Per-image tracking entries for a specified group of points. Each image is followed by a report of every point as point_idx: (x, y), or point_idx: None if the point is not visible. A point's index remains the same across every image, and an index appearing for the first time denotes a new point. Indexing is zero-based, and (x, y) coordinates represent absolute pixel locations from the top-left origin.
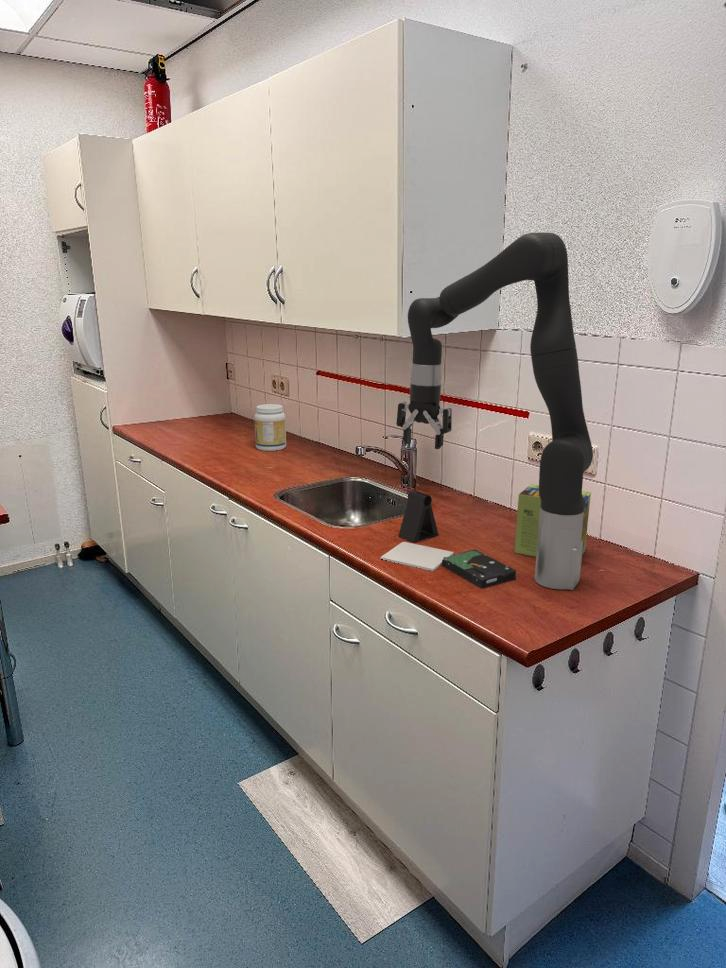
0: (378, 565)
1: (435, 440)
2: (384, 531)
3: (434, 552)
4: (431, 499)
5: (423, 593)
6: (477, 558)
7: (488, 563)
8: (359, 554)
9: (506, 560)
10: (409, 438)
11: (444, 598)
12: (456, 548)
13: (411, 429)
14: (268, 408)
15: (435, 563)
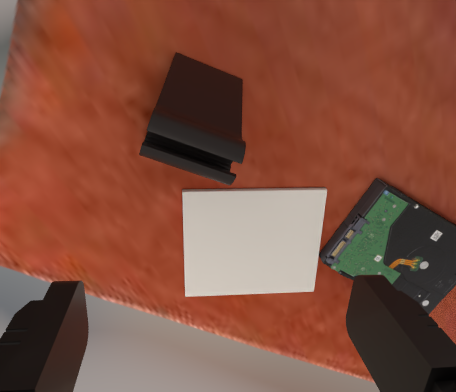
0: (197, 317)
1: (380, 385)
2: (84, 131)
3: (284, 215)
4: (244, 144)
5: (325, 365)
6: (402, 232)
7: (429, 244)
8: (128, 293)
9: (451, 156)
10: (71, 335)
11: None
12: (320, 146)
13: (37, 387)
14: None
15: (308, 266)
